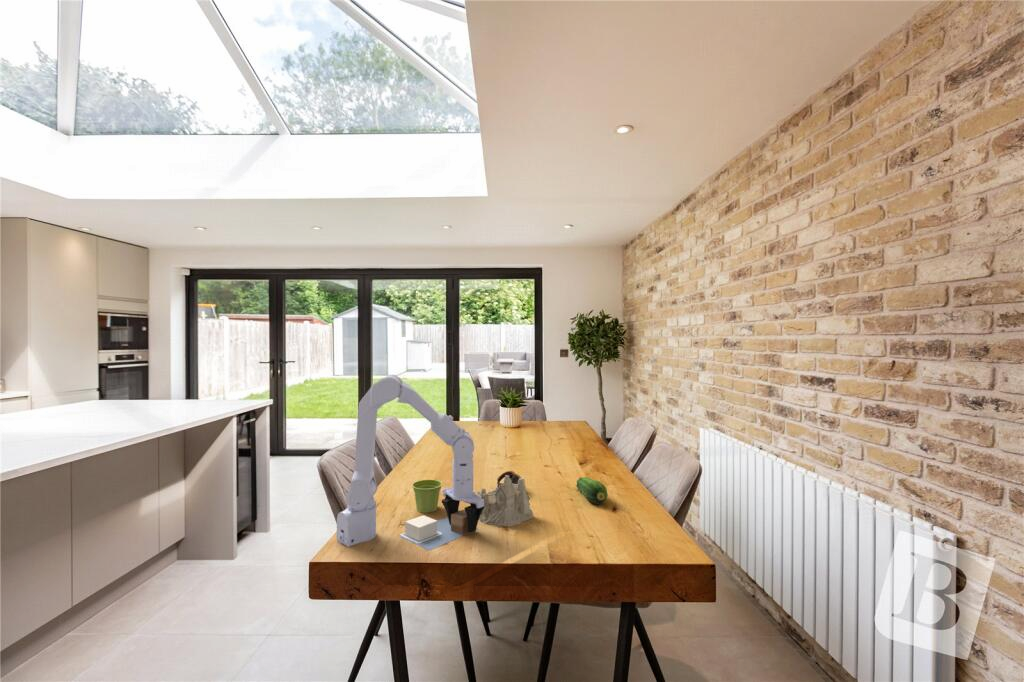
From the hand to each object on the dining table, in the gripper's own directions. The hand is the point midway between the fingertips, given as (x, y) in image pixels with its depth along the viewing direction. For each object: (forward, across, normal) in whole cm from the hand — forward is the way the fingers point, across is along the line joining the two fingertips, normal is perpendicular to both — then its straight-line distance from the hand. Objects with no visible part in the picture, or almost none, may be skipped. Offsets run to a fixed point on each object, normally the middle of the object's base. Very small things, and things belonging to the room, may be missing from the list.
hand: (462, 527), depth 119 cm
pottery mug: (+2, +14, -36) cm, 39 cm away
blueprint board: (+2, +4, +5) cm, 7 cm away
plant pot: (+2, +20, -4) cm, 21 cm away
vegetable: (+2, -10, -49) cm, 50 cm away
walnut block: (+1, 0, 0) cm, 1 cm away
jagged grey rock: (+2, -1, -15) cm, 16 cm away
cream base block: (+1, +6, +9) cm, 11 cm away
